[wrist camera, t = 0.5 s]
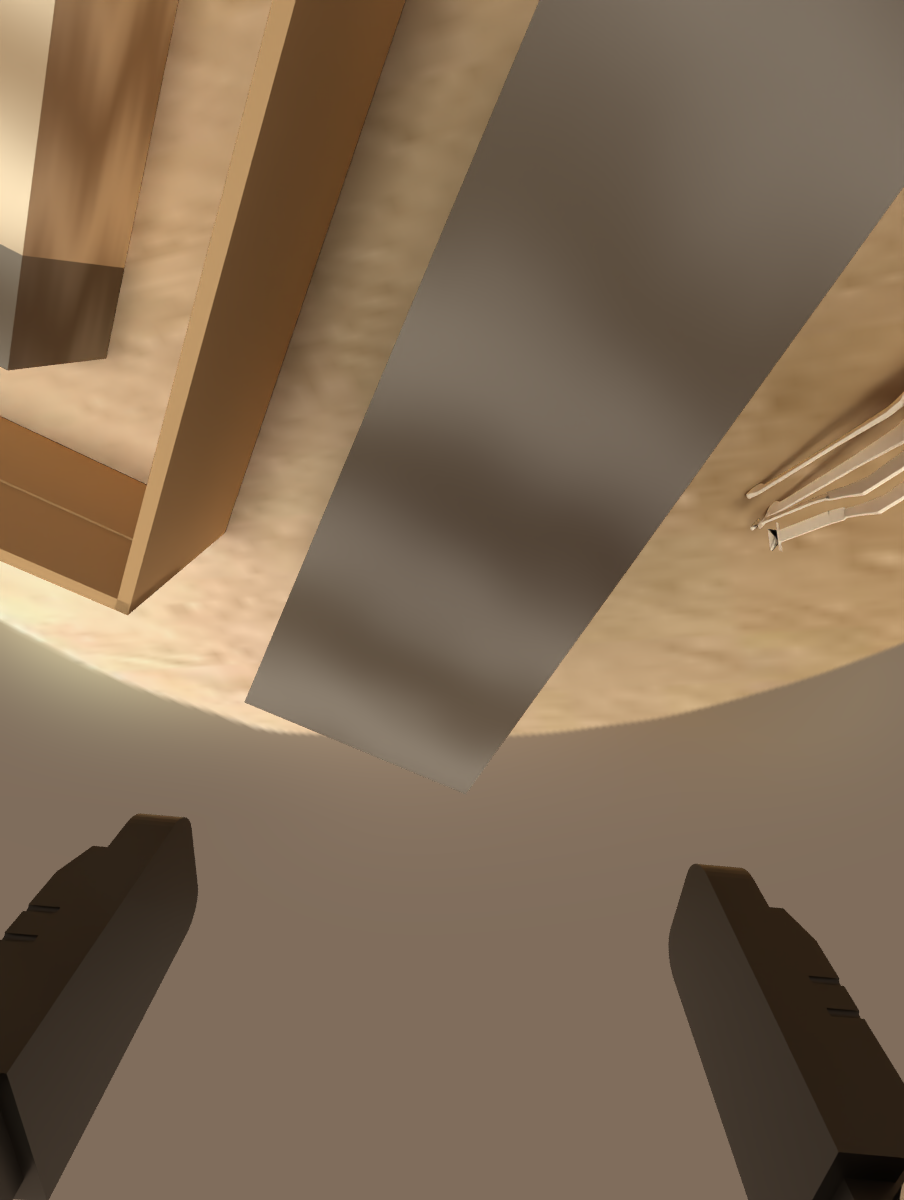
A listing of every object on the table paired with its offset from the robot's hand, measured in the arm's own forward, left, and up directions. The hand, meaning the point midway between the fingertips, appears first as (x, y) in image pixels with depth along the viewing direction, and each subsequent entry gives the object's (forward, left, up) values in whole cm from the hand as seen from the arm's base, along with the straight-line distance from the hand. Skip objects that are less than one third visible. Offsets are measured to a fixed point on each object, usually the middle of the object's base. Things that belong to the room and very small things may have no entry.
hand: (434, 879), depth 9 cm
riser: (-5, 0, -21) cm, 22 cm away
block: (-5, -20, -21) cm, 29 cm away
